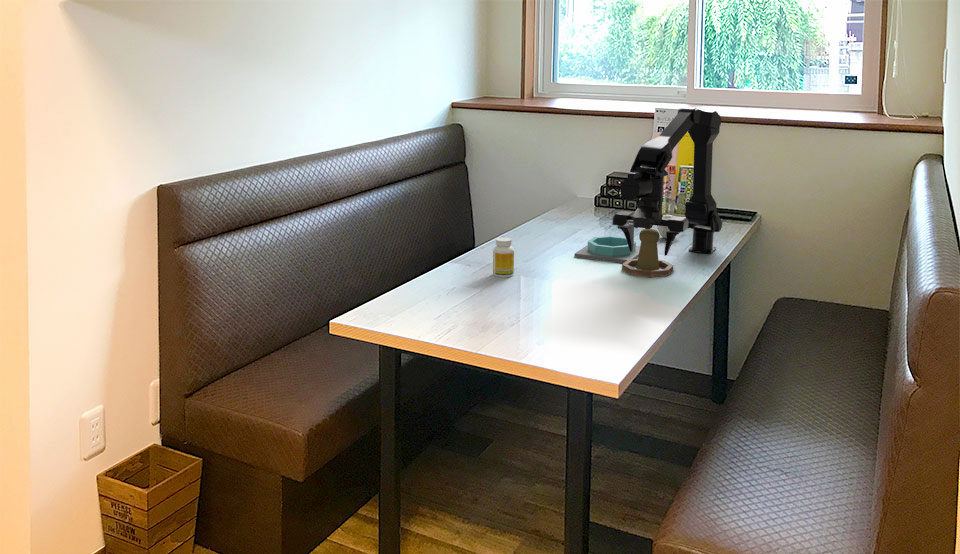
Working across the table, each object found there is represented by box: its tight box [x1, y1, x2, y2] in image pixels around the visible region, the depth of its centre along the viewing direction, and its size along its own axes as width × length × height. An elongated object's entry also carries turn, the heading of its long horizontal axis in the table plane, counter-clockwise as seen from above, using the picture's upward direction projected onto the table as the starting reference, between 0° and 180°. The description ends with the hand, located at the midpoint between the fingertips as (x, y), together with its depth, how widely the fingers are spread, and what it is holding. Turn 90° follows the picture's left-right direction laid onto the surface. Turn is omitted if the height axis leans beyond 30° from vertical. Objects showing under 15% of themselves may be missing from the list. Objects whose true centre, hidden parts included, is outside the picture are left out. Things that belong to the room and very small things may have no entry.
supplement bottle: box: [492, 237, 515, 279], centre depth 231 cm, size 5×5×10 cm
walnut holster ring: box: [621, 258, 675, 278], centre depth 236 cm, size 12×12×2 cm
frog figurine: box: [656, 214, 674, 239], centre depth 269 cm, size 6×7×7 cm
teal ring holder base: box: [573, 235, 640, 264], centre depth 252 cm, size 16×16×4 cm
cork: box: [635, 228, 661, 270], centre depth 235 cm, size 6×6×11 cm
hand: (648, 253), depth 235 cm, fingers open, 9 cm apart
